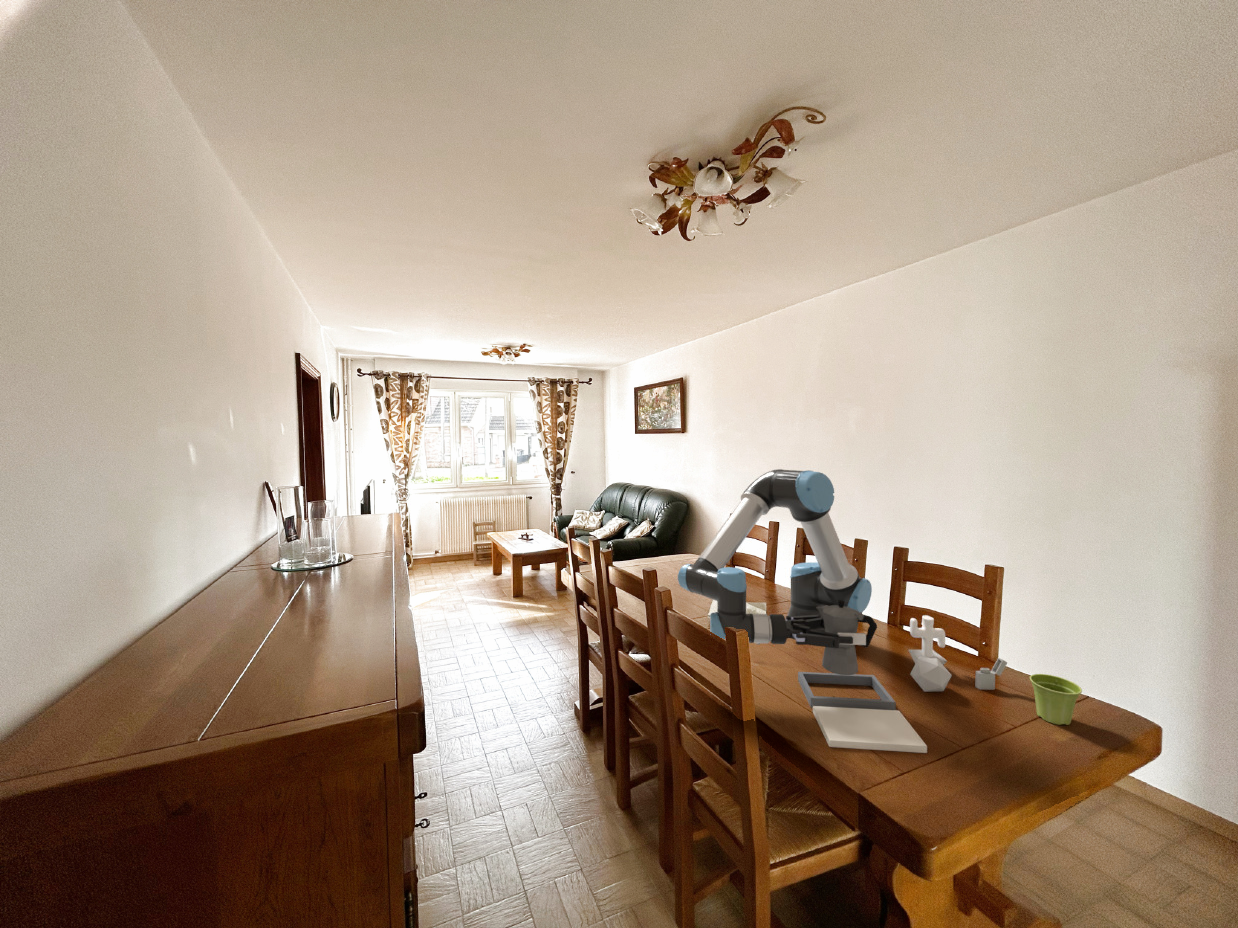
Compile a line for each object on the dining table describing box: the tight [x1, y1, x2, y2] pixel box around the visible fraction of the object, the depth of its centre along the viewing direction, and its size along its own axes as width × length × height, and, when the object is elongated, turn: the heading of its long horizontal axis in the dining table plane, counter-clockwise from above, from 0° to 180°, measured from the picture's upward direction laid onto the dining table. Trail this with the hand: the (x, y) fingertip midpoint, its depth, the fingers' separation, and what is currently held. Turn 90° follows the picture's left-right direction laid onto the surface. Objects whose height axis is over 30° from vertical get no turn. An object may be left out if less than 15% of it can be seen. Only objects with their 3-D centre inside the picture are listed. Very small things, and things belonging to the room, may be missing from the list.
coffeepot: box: [816, 600, 878, 675], centre depth 130 cm, size 15×9×18 cm, turn 43°
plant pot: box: [1029, 673, 1083, 726], centre depth 119 cm, size 9×9×9 cm
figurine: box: [908, 614, 948, 666], centre depth 146 cm, size 7×9×15 cm
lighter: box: [974, 657, 1008, 691], centre depth 133 cm, size 7×2×8 cm, turn 87°
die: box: [909, 658, 952, 693], centre depth 134 cm, size 8×9×10 cm
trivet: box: [812, 706, 928, 754], centre depth 115 cm, size 14×20×2 cm
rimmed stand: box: [797, 671, 897, 710], centre depth 131 cm, size 14×20×2 cm
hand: (858, 631), depth 129 cm, fingers closed on coffeepot, 9 cm apart
